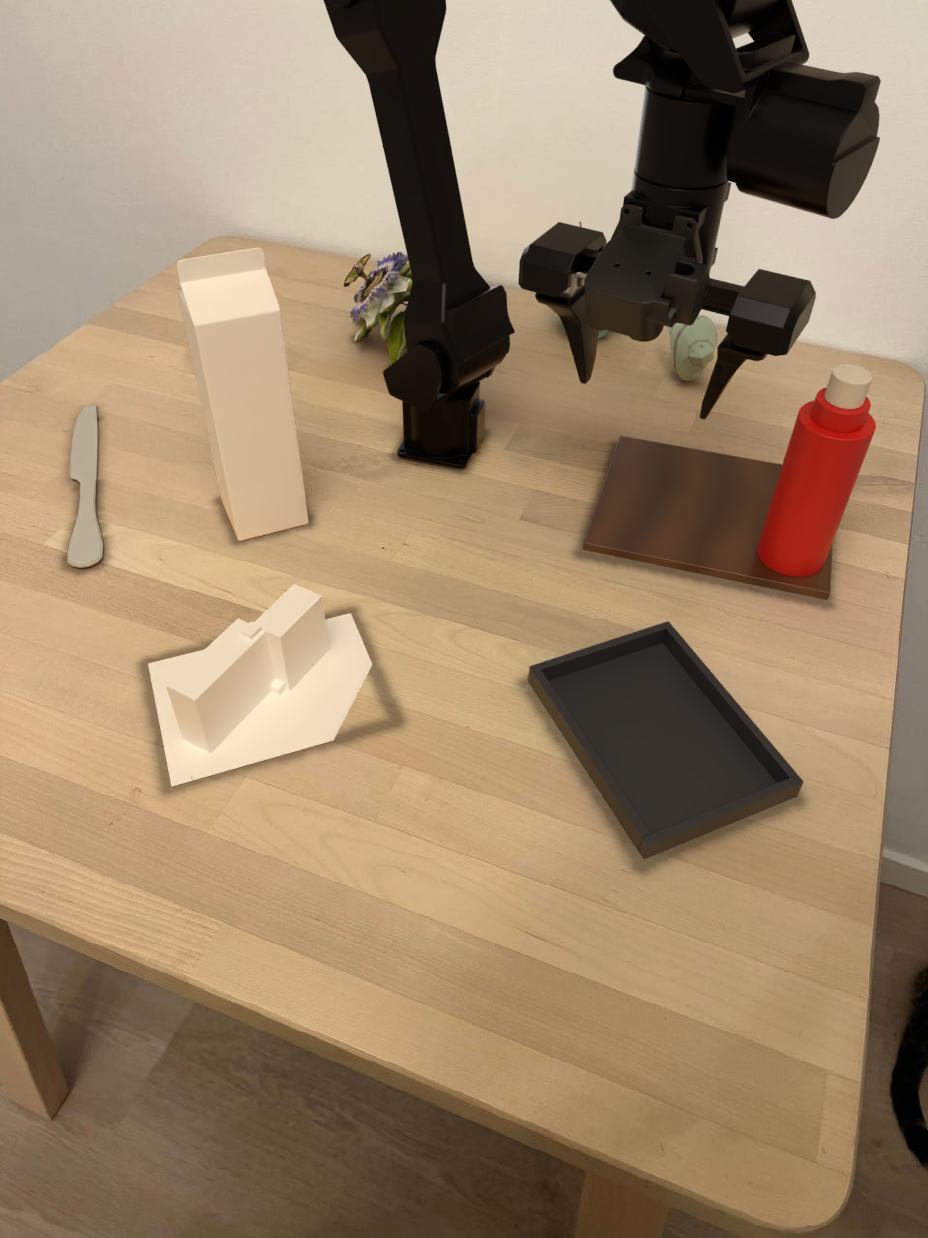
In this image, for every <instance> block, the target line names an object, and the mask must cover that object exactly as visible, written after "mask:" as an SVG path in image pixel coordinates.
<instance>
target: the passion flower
mask: <svg viewBox="0 0 928 1238" xmlns="http://www.w3.org/2000/svg"><path fill="white" fill-rule="evenodd" d="M370 259H371V253H369V252H368V253H367V254H365V255H364V256H362V257H361V258H360V259H359V260H358V262H356V264H354V265H352V268H351V270H350V271H349V273H348V274H347V275H346V277H345V278H344V282H343V287H344V288H347V287H349V286H350V285H351V284H352V283H354V282H357V280H358V278H362V279H363V280H364V282H363V285H361V286H360V287H359V290H358V292H357V293H355V294H354V295H353V302H354V303H355V305H354V307H353V308H352V309H351V310H350V311H349V314H350V315H349V317H350V318H352V322H351V324H354V325H355V326H357V327H358V330H357V331H356V333H355V336H354V338H353V341H354V342H355V343H359V342H362V341H363V340H365V339H366V338H368V337H369V335H370V334H371V331H372V329H374V328H376V327H377V326H379V334H380V336H381V339H383V340H386V339H387V348H388V358H389V361H390V365H391V364H393V363H394V362H395V361H396V360H398V359H399V358H400V357H401V356H403V355H404V354H405V353H406V350H407V348H406V340H405V331H404V316H405V312H406V308H407V304H408V303H406V302H408V300H409V295H410V291H411V287H412V281H413V280H412V273H411V269H410V265H409V260H408V256H407V254H405V253H403V252H402V251H397V252H396V253H395V252H392V254H388V255H387V256H383V259H382V260H381V261H380V260H378V259H377V260H376V262H377V265H376V268H374V270H370V272H369V273H368V274H366V273H365V271H364V270H365V268H366V265H367V262H368V261H370ZM400 305H402V306H405V309H404V310H402V311H401V310H400V312H398V313H396V314H395V315H394V313H395V311H396V310H397V308H398V307H399V306H400ZM393 315H394V316H393ZM388 329H389V333H388V337H387V332H388Z"/></svg>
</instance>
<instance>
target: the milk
mask: <svg viewBox="0 0 928 1238" xmlns="http://www.w3.org/2000/svg"><path fill="white" fill-rule="evenodd" d="M265 257H266V256H265V251H264V250H263V249H262V248H261V247H253V248H246V249H239V250H235V251H234V250H233V251H227V252H226V251H225V252H220V253H214V254H209V255H202V256H196V257H189V258H184V259H179V260H178V261H177V263H176V270H177V276H178V280H179V284H178V285H177V287H176V293H177V297H178V298H177V299H178V302H179V307H180V311H181V316H182V321H183V325H184V330H185V334H186V340H187V345H188V350H189V353H190V357H191V363H192V368H193V372H194V377H195V381H196V386H197V391H198V395H199V396H198V397H199V401H200V405H201V411H202V415H203V418H204V425H205V428H206V434H207V438H208V443H209V448H210V453H211V457H212V461H213V467H214V472H215V476H216V480H217V486H218V490H219V494H220V499H221V502H222V505H223V507H224V509H225V512H226V514H227V517H228V519H229V522H230V523H231V527H232V530H233V531H234V534H235V537H236V540H237V541H238V542H242V541H245V540H249V539H254V538H258V537H261V536H266V535H269V534H273V533H278V532H282V531H285V530H289V529H293V528H297V527H301V526H305V525H308V524H310V523H309V513H308V507H307V506H308V505H307V498H306V492H305V484H304V477H303V470H302V469H303V468H302V461H301V454H300V447H299V439H298V432H297V425H296V417H295V410H294V409H295V407H294V401H293V395H292V388H291V386H292V385H291V378H290V371H289V363H288V355H287V349H286V340H285V333H284V326H283V319H282V312H281V307H280V303H279V301H278V298H277V295H276V293H275V289H274V287H273V284H272V281H271V279H270V275H269V273H268V270H267V265H266V258H265Z"/></svg>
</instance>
